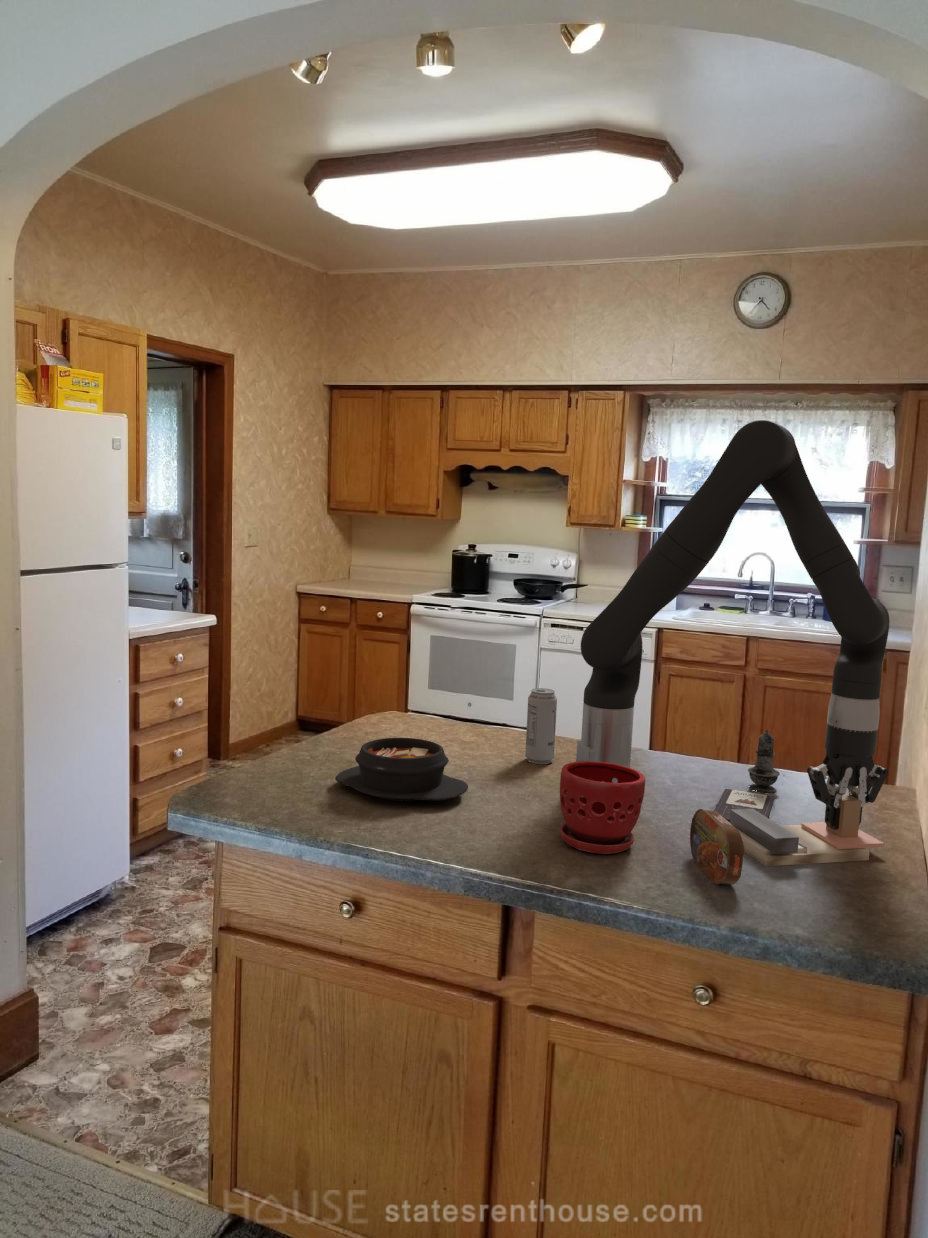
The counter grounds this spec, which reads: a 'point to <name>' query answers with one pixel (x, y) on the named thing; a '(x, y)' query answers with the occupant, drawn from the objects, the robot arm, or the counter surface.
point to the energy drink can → (541, 726)
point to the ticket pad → (813, 851)
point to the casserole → (402, 771)
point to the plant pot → (600, 805)
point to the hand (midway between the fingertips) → (842, 827)
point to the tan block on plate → (845, 828)
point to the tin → (716, 847)
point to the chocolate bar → (743, 802)
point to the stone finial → (764, 766)
